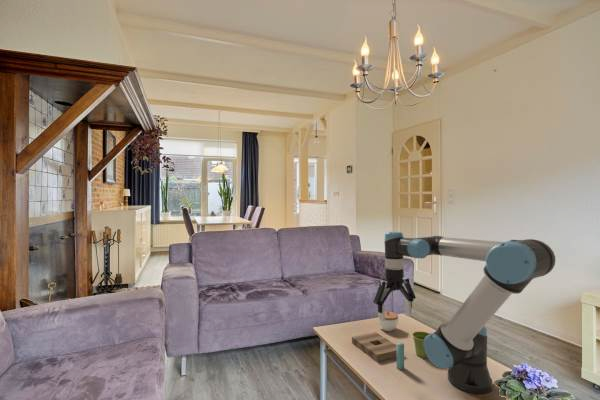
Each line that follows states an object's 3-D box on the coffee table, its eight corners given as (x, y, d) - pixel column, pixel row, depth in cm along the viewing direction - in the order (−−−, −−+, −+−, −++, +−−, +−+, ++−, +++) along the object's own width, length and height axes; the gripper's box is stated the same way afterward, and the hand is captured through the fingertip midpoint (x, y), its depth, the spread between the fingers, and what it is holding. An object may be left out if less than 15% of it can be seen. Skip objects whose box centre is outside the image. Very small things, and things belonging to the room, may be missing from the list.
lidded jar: (399, 333, 170) (399, 315, 170) (378, 332, 171) (378, 314, 171) (396, 325, 180) (396, 308, 180) (376, 324, 182) (376, 307, 182)
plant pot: (436, 360, 141) (436, 340, 141) (413, 358, 143) (413, 339, 143) (432, 350, 150) (432, 332, 150) (410, 349, 152) (410, 330, 152)
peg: (405, 368, 135) (405, 344, 135) (399, 370, 133) (399, 346, 133) (400, 365, 137) (400, 341, 137) (395, 366, 136) (395, 343, 136)
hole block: (402, 355, 146) (402, 348, 146) (376, 361, 140) (376, 354, 140) (375, 338, 164) (375, 332, 164) (351, 342, 159) (351, 336, 159)
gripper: (411, 264, 148) (412, 311, 147) (364, 269, 138) (365, 319, 138) (423, 267, 141) (424, 316, 140) (375, 272, 131) (376, 325, 131)
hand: (395, 318), depth 139 cm, fingers open, 13 cm apart
